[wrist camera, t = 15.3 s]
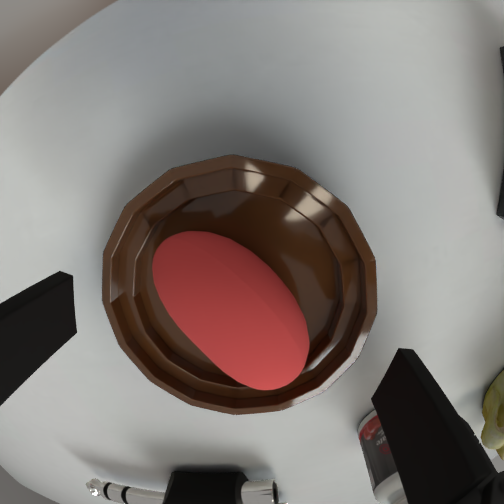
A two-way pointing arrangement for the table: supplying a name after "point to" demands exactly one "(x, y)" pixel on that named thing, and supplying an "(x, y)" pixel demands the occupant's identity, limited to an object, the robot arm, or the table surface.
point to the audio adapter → (193, 490)
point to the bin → (503, 202)
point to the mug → (494, 416)
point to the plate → (262, 245)
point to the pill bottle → (380, 462)
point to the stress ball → (232, 308)
